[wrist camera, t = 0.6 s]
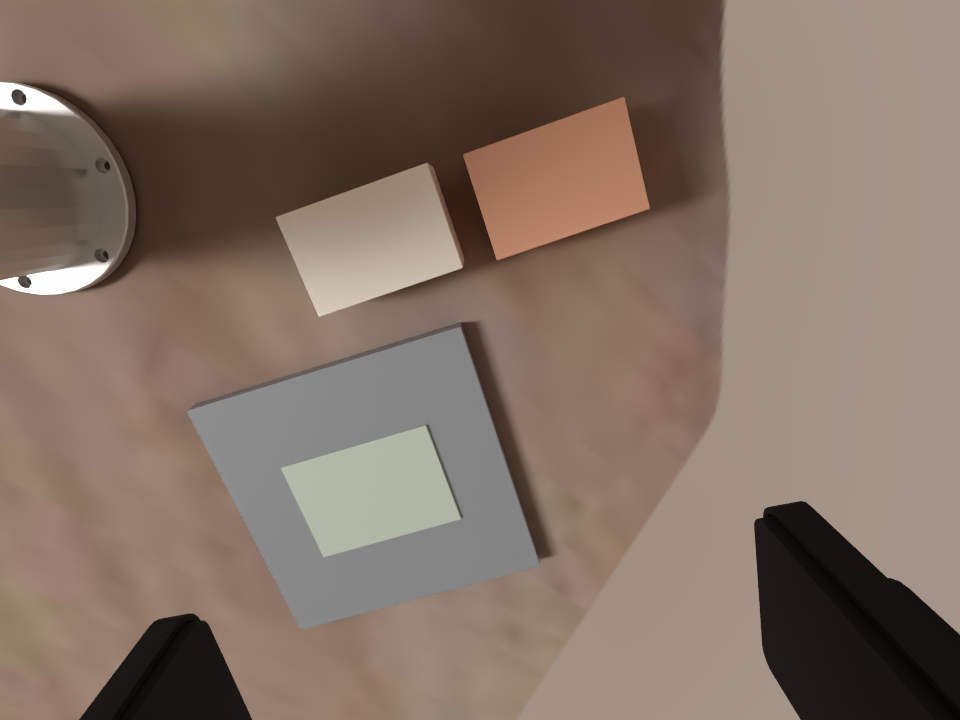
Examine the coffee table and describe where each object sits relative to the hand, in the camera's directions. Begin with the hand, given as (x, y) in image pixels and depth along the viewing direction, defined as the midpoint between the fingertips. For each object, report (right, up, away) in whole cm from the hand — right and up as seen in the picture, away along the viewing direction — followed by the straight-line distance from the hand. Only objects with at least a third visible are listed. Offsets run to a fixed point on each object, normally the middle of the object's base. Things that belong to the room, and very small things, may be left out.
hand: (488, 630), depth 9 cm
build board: (-8, -5, +31) cm, 33 cm away
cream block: (-6, +13, +26) cm, 30 cm away
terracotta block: (+4, +16, +25) cm, 30 cm away
